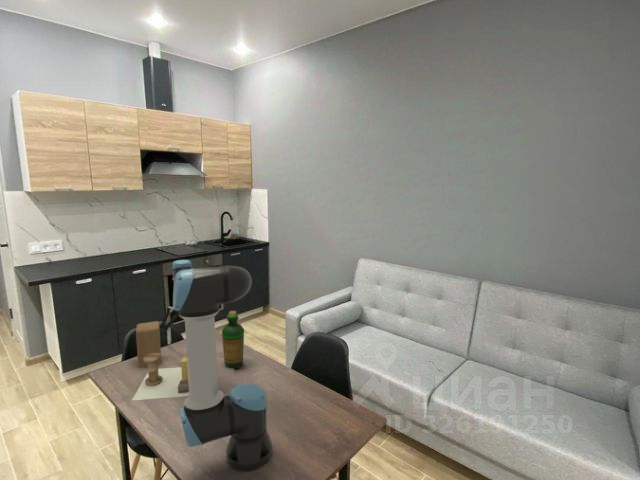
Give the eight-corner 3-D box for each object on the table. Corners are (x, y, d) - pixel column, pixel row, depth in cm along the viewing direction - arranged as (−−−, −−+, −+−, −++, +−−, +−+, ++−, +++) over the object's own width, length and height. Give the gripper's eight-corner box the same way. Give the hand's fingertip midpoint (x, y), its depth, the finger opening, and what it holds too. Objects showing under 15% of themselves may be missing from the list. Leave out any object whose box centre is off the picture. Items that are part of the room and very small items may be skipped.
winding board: (188, 398, 146) (188, 395, 146) (131, 403, 142) (131, 400, 142) (197, 368, 169) (197, 366, 169) (149, 371, 166) (149, 369, 165)
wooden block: (139, 360, 175) (136, 323, 172) (161, 356, 180) (158, 320, 176) (138, 370, 167) (135, 331, 163) (161, 366, 171) (159, 327, 167)
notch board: (188, 392, 148) (187, 385, 148) (178, 393, 148) (177, 386, 147) (195, 368, 167) (195, 363, 166) (187, 369, 166) (186, 363, 166)
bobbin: (160, 385, 153) (158, 360, 151) (143, 386, 152) (141, 361, 150) (164, 376, 160) (162, 352, 158) (148, 377, 158) (146, 353, 156)
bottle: (218, 369, 169) (216, 314, 164) (230, 358, 179) (228, 307, 174) (237, 373, 166) (236, 317, 161) (248, 362, 176) (247, 309, 171)
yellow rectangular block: (191, 381, 156) (190, 361, 154) (182, 382, 155) (181, 361, 154) (193, 377, 160) (192, 356, 158) (183, 377, 159) (182, 357, 157)
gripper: (214, 291, 156) (216, 336, 160) (155, 294, 152) (158, 340, 155) (212, 297, 149) (214, 343, 152) (150, 299, 145) (153, 347, 148)
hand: (185, 342), depth 154 cm, fingers open, 13 cm apart
